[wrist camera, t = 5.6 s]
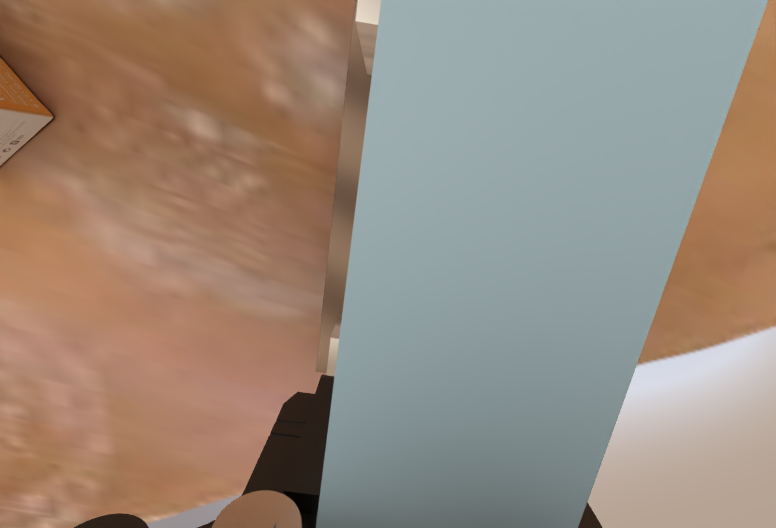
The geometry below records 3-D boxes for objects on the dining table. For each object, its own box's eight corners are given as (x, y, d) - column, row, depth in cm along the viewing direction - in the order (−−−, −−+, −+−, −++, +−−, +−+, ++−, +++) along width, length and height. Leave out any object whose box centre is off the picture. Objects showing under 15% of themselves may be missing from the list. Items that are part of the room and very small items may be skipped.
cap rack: (360, -20, 20) (340, -161, 12) (517, 7, 21) (612, -111, 12) (319, 360, 26) (286, 455, 18) (440, 376, 27) (466, 476, 18)
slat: (401, -14, 8) (421, -329, 3) (566, 13, 8) (854, -242, 3) (313, 639, 13) (266, 927, 8) (414, 650, 13) (429, 941, 8)
